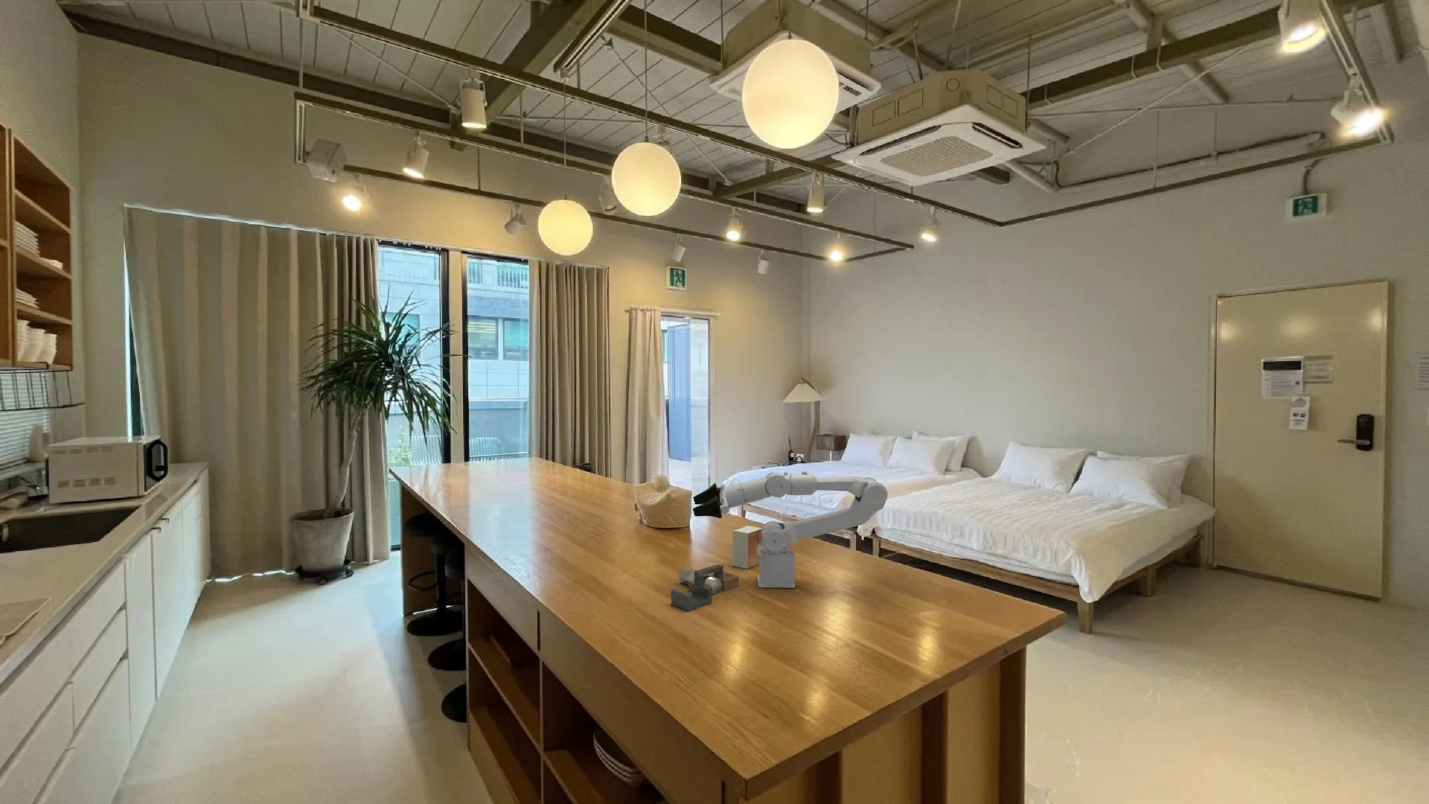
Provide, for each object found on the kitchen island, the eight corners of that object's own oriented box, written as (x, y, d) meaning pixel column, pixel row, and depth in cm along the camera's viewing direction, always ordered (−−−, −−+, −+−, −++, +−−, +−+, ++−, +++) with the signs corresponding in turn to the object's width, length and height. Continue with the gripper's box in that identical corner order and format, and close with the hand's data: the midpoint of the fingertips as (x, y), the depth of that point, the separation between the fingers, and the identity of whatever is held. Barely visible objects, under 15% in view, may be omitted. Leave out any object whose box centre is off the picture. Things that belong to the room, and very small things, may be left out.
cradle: (671, 604, 142) (671, 589, 142) (695, 596, 148) (695, 582, 148) (687, 611, 138) (688, 596, 138) (711, 602, 144) (712, 588, 144)
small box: (747, 569, 169) (748, 533, 169) (731, 565, 173) (732, 530, 172) (762, 563, 176) (763, 528, 176) (746, 559, 179) (747, 525, 179)
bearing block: (688, 591, 152) (689, 569, 151) (722, 580, 160) (722, 559, 160) (705, 597, 147) (705, 575, 147) (738, 585, 156) (738, 564, 156)
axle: (679, 585, 157) (678, 571, 157) (690, 579, 160) (689, 565, 160) (711, 597, 149) (709, 582, 148) (722, 590, 152) (720, 576, 151)
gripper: (737, 470, 164) (690, 482, 165) (740, 490, 150) (689, 504, 150) (744, 493, 166) (697, 505, 166) (748, 515, 151) (696, 528, 152)
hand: (693, 506), depth 158 cm, fingers open, 7 cm apart
